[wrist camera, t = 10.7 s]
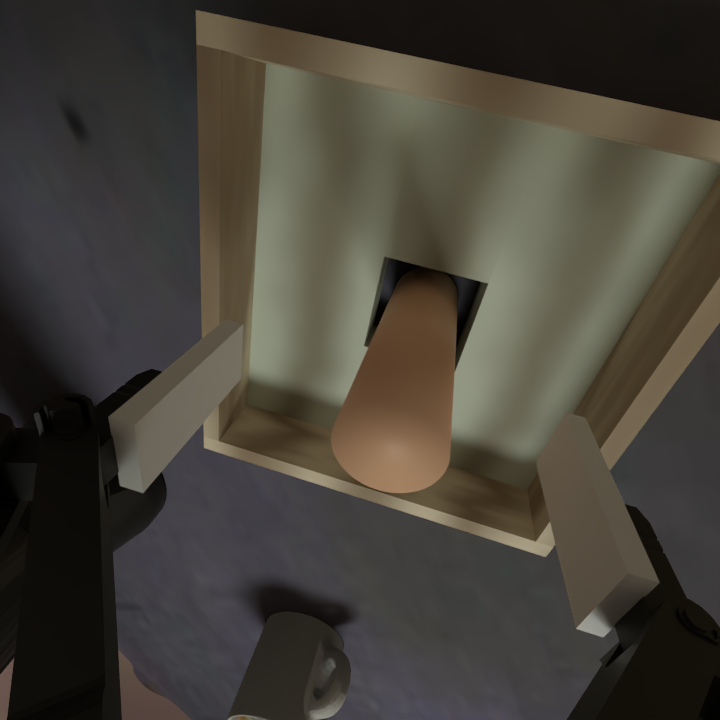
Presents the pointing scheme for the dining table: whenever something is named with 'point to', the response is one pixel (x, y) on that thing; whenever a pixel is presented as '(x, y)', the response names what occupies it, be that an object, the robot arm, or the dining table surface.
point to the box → (446, 255)
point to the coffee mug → (294, 672)
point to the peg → (403, 390)
